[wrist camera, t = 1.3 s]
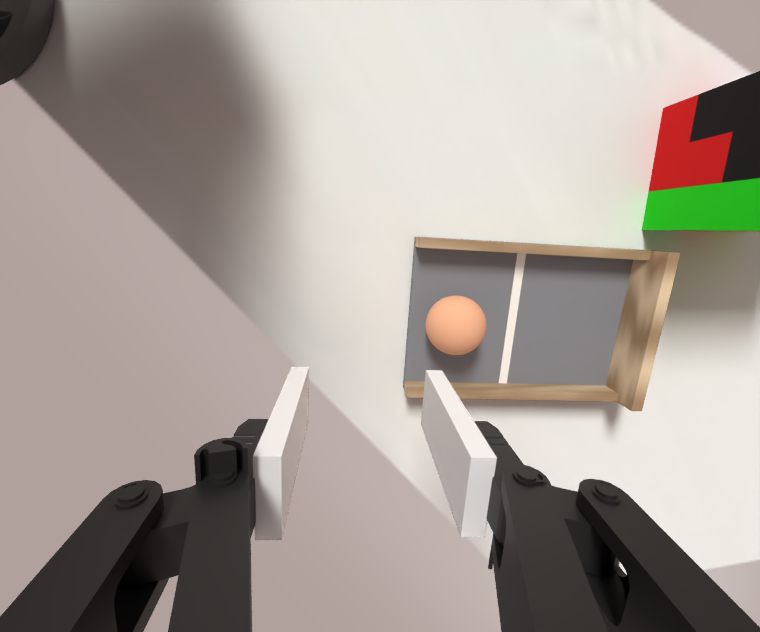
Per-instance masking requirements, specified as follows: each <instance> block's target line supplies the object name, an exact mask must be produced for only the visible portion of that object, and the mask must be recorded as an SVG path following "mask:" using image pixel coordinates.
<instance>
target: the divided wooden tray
mask: <svg viewBox="0 0 760 632" xmlns="http://www.w3.org/2000/svg"><path fill="white" fill-rule="evenodd" d="M415 246H416V247H419V248H437V249H455V250H472V251H490V252H508V253H526V254H544V255H562V256H580V257H598V258H615V259H633V263H632V268H631V272H630V277H629V281H628V286H627V291H626V295H625V300H624V304H623V309H622V314H621V318H620V323H619V327H618V332H617V337H616V341H615V346H614V350H613V355H612V360H611V364H610V369H609V373H608V378H607V383H606V386H599V385H557V384H516V383H474V382H450V384H451V386H452V387H453V389H454V390H455V392H456V394H457V395H458V397H459V398H463V399H513V400H563V401H613V402H618V403H620V404H621V405H623V406H625V407H626V408H628V409H629V410H631V411H642V408H643V404H644V400H645V396H646V392H647V388H648V384H649V379H650V375H651V371H652V367H653V363H654V359H655V355H656V351H657V347H658V343H659V339H660V335H661V331H662V327H663V323H664V319H665V314H666V310H667V306H668V302H669V298H670V294H671V290H672V286H673V282H674V278H675V274H676V270H677V266H678V262H679V258H680V254H681V253H674V252H661V251H648V250H632V249H615V248H598V247H581V246H564V245H547V244H529V243H512V242H495V241H478V240H461V239H444V238H427V237H416V243H415ZM424 385H425V381H405V382H404V390H405V393H406V397H413V398H423V395H424Z"/></svg>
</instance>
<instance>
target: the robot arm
mask: <svg viewBox="0 0 760 632" xmlns="http://www.w3.org/2000/svg"><path fill="white" fill-rule="evenodd" d="M53 2H54V0H0V85H1V84H4V83H6V82H8V81H10V80H12V79H13V78H15V77H16V76H18V75H19V74H20V73H22V72H23V71H24V70H25V69H26V68H27V67H28V66H29V65H30V64H31V63H32V62H33V61H34V59H35V58H36V56H37V55H38V54H39V52H40V50H41V49H42V47H43V45H44V42H45V40H46V38H47V35H48V32H49V29H50V25H51V20H52V14H53ZM308 399H309V367H291V370H290V372H289V374H288V376H287V379H286V381H285V383H284V386H283V388H282V390H281V392H280V395H279V397H278V399H277V402H276V404H275V406H274V409H273V411H272V413H271V415H270V418H269V419H248V420H247V421H245V422H244V423H243V424H241V425H240V426H239V427H238V428H237V430H236V432H235V434H234V437H232V438H222V439H217V440H213V441H211V442H208V443H206V444H204V445H203V446H202V447H200V448H199V449H198V450H197V451H196V453H195V455H194V459H195V474H196V485H194V486H192V487H189V488H186V489H182V490H177V491H173V492H168V493H163V490H162V487H161V485H160V484H158V483H157V482H155V481H148V480H143V481H135V482H131V483H128V484H126V485H123V486H121V487H119V488H117V489H115V490H113V491H112V492H110V493H109V494H108V495H107V496H106V497H105V498H104V499H103V500H102V501H101V502H100V503H99V504H98V505H97V507H96V508H95V509H94V510H93V511H92V512H91V513H90V514H89V516H88V517H87V518H86V519H85V520H84V521H83V522H82V524H81V525H80V526H79V527H78V528H77V529H76V530H75V532H74V533H73V534H72V535H71V536H70V537H69V539H68V540H67V541H66V542H65V543H64V544H63V545H62V547H61V548H60V549H59V550H58V551H57V552H56V553H55V555H54V556H53V557H52V558H51V559H50V560H49V562H48V563H47V564H46V565H45V566H44V567H43V568H42V569H41V571H40V572H39V573H38V574H37V575H36V576H35V577H34V579H33V580H32V581H31V582H30V583H29V584H28V585H27V587H26V588H25V589H24V590H23V591H22V593H20V595H19V596H18V597H17V598H16V599H15V600H14V601H13V603H12V604H11V605H10V606H9V607H8V609H6V611H5V612H4V613H3V614H2V615H1V616H0V632H143V631H144V629H145V627H146V625H147V623H148V621H149V618H150V617H151V615H152V613H153V611H154V608H155V606H156V604H157V602H158V600H159V598H160V596H161V594H162V592H163V590H164V588H165V586H166V584H167V582H168V579H169V578H170V577H174V576H177V575H179V576H178V582H177V587H176V592H175V597H174V602H173V608H172V613H171V618H170V624H169V630H168V632H252V603H251V602H252V601H251V549H250V548H251V544H250V538H251V535H252V532H253V529H254V526H255V540H281V539H282V536H283V532H284V527H285V523H286V518H287V514H288V510H289V505H290V501H291V496H292V492H293V487H294V483H295V478H296V474H297V469H298V465H299V461H300V456H301V452H302V447H303V443H304V438H305V434H306V430H307V425H308ZM421 426H422V428H423V431H424V434H425V437H426V440H427V443H428V445H429V448H430V451H431V454H432V457H433V460H434V463H435V465H436V468H437V471H438V474H439V477H440V480H441V482H442V485H443V488H444V491H445V494H446V497H447V500H448V502H449V505H450V508H451V511H452V514H453V517H454V519H455V522H456V525H457V528H458V531H459V534H460V537H485V534H486V527H487V521H488V522H489V525H490V527H491V529H492V531H493V539H492V546H491V552H490V558H489V565H488V568H489V569H492V566H493V565H494V573H495V581H496V589H497V598H498V605H499V614H500V622H501V631H502V632H760V627H759V626H757V624H756V623H755V622H754V621H753V620H752V619H751V618H750V617H749V616H748V615H747V614H746V613H745V612H744V611H743V610H742V609H741V608H740V607H739V606H738V605H737V604H736V603H735V602H734V601H733V600H732V599H731V598H730V597H729V596H728V595H727V594H726V593H725V592H724V591H723V590H722V589H721V588H720V587H719V586H718V585H717V584H716V583H715V582H714V581H713V580H712V579H711V578H710V577H709V576H708V575H707V574H706V573H705V572H704V571H703V570H702V569H701V568H700V567H699V566H698V565H697V564H696V563H695V562H694V561H693V560H692V559H691V558H690V557H689V556H688V555H687V554H686V553H685V552H684V551H683V550H682V549H681V548H680V547H679V546H678V545H677V544H676V543H675V542H674V541H673V540H672V539H671V538H670V537H669V536H668V535H667V534H666V533H665V532H664V531H663V530H662V529H661V528H660V527H659V526H658V525H657V524H656V523H655V522H654V521H653V520H652V519H651V518H650V517H649V515H648V514H647V513H646V512H645V511H644V510H643V509H642V508H641V507H640V506H639V505H638V504H637V503H636V502H635V501H634V500H633V499H632V498H631V497H630V496H629V495H628V494H626V493H625V492H624V491H622V490H621V489H620V488H618V487H616V486H614V485H612V484H611V483H608V482H605V481H602V480H596V479H586V480H583V481H582V482H580V485H579V489H578V492H576V491H571V490H567V489H562V488H558V487H554V486H551V484H550V482H549V480H548V479H547V477H546V476H545V475H544V474H542V473H541V472H540V471H538V470H536V469H534V468H532V467H530V466H526V465H524V464H523V463H522V462H521V460H520V459H519V458H518V456H517V455H516V453H515V452H514V451H513V449H512V448H511V446H510V445H508V442H507V441H506V440H505V439H504V437H503V435H502V434H501V433H500V431H499V430H498V429H497V428H496V427H495V426H493V425H492V424H490V423H489V422H487V421H473V419H472V417H471V416H470V414H469V413H468V411H467V409H466V408H465V406H464V405H463V403H462V401H461V400H460V398H459V397H458V395H457V394H456V392H455V390H454V389H453V387H452V386H451V384H450V382H449V381H448V379H447V378H446V376H445V374H444V373H443V371H441V370H426V374H425V385H424V395H423V406H422V417H421ZM619 562H621V564H622V565H623V567H624V568H625V570H626V572H627V575H626V574H625V573H624V572H623V571H622V569H621V568H620V567H619Z"/></svg>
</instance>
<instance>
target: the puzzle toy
mask: <svg viewBox="0 0 760 632" xmlns="http://www.w3.org/2000/svg"><path fill="white" fill-rule="evenodd" d="M642 230H688V231H760V71H759V72H756V73H753V74H751V75H748V76H746V77H743V78H740V79H738V80H735V81H733V82H730V83H727V84H725V85H722V86H720V87H717V88H714V89H712V90H709V91H707V92H704V93H701V94H699V95H696V96H694V97H691V98H688V99H686V100H683V101H681V102H678V103H675V104H673V105H670V106H668V107H665V108H663V112H662V118H661V124H660V129H659V135H658V141H657V147H656V152H655V158H654V164H653V170H652V175H651V181H650V187H649V193H648V198H647V204H646V210H645V215H644V221H643V227H642Z"/></svg>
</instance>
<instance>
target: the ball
mask: <svg viewBox="0 0 760 632" xmlns="http://www.w3.org/2000/svg"><path fill="white" fill-rule="evenodd" d="M486 326H487V325H486V318H485V315H484V313H483V311H482V309H481V308H480V306H479V305H478V304H477V303H476V302H474V301H473V300H471V299H469V298H467V297H464V296H458V295H456V296H448V297H445V298H442V299H441V300H439V301H438V302H436V303H435V304H434V305H433V306H432V307H431V309H430V310H429V312H428V315H427V318H426V333H427V336H428V338H429V340H430V342H431V343H432V344H433V345H434V346H435V347H436V348H437V349H438V350H440V351H442V352H444V353H446V354H450V355H463V354H466V353H469V352H471V351H472V350H474V349H475V348H476V347H478V346H479V344H480V343H481V342H482V340H483V338H484V336H485V333H486Z"/></svg>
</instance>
